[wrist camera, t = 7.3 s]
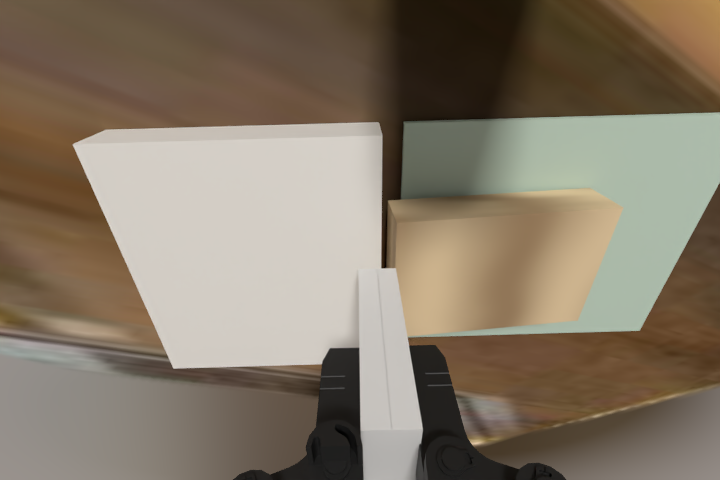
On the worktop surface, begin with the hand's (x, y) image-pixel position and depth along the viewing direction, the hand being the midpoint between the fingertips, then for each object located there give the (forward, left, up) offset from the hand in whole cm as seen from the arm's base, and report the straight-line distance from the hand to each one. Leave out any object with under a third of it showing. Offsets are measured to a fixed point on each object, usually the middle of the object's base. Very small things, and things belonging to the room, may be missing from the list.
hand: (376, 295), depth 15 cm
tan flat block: (+5, 0, -3) cm, 6 cm away
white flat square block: (-5, 0, -3) cm, 6 cm away
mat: (+8, 0, -3) cm, 9 cm away
